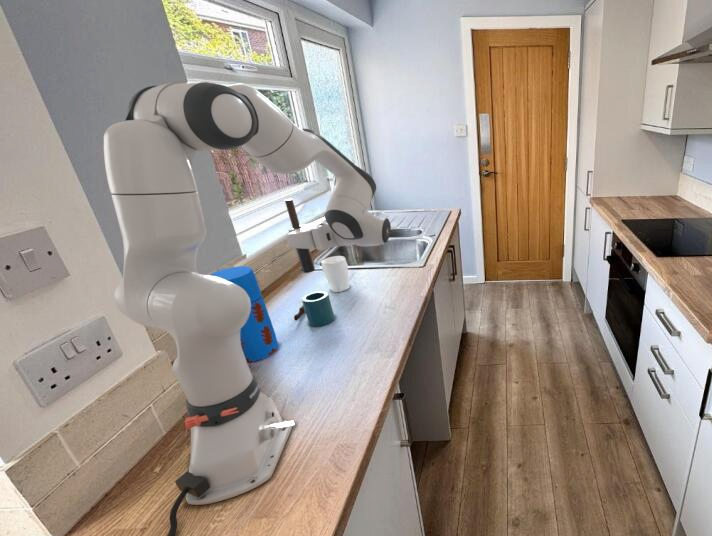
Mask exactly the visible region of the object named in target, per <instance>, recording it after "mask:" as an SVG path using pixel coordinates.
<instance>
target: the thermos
mask: <svg viewBox="0 0 712 536" xmlns="http://www.w3.org/2000/svg"><path fill="white" fill-rule="evenodd" d="M210 275H211V276H217V277H220V278H223V279H225V280H227V281H230V282H232V283H234V284H236V285H238V286H240V287H241V288H243V289H244V290H245V291H246V293H247V294H248V296H249V298H250V302H251V311H250V315H249V318H248V320H247V322H246V323H245V325H244V326H243V327H242V328H241V331H240V340H241V347H242V350H243V353H244V356H245V358H246V361H247V363H248V362H249V363H250V362H257V361H260V360H263V359H266V358H268V357H269V356H271V355H273V354H274V353H276V351H278V349H279V343H278V338H277V335H276V332H275V329H274V326H273V323H272V320H271V318H270V314H269V312H268V308H267V306H266V305H267V304H266V303H265V300H264V297H263V294H262V291H261V289H260V285H259V282H258V279H257V277H256V274H255V272H254V269H253V268H252V267H250V266H245V265H243V266H242V265H241V266H240V265H239V266H233V267H232V266H231V267H228V268H224V269H220V270H217V271H215V272H213V273H210Z"/></svg>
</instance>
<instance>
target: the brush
mask: <svg viewBox="0 0 712 536" xmlns="http://www.w3.org/2000/svg"><path fill="white" fill-rule="evenodd" d="M284 203H285V207H286V210H287V213H288V216H289V221H290V223H291V224H290V225H291V228H297V229H299V228H300V225H301V224H300V221H299V217H298V214H297V211H296V208H295V203H294V200H293V199H292V198H288V199H284ZM295 250H296V254H297V257H298V260H299V263H300V266H301V267H300V268H301V269H302V273H304V274H309V273H313V272H314V271H315V270H316V268H315V264H314V261H313V257H312V254H311V249H301V248H295Z"/></svg>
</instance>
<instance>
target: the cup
mask: <svg viewBox="0 0 712 536" xmlns="http://www.w3.org/2000/svg"><path fill="white" fill-rule="evenodd" d="M320 264H321V269H322V272H323V274H324V275H323V276H324V277H325V279H326V282H327V283H328V286H329V288H330V290H331V292H332V293H333V292H334V293H339V292H344V291H347V290H348V289H349V288H350V277H349V276H350V275H349V264H348V262H347V258H346V257H345V256H343V255H332V256H328V257H325V258H323V259H322V260H321V261H320Z"/></svg>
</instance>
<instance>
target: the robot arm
mask: <svg viewBox="0 0 712 536" xmlns="http://www.w3.org/2000/svg"><path fill="white" fill-rule="evenodd" d="M127 106H128V107H127V115H126V117H125V118H124V119H125V120H123V121H119V122H116V123H113V124H112V125H110V126H108V127H107V129H106V130H105V131H104V135H103V160H104V168H105V174H106V180H107V184H108V189H109V192H110V196H111V200H112V203H113V208H114V211H115V214H116V218H117V222H118V225H119V230H120V234H121V238H122V245H123V267H122V268H123V269H122V270H123V271H122V279H121V281H119V283H118V285H117V286H116V289H115V291H114V303H115V305H116V308H117V309H118V311H120V313H122V315H124V316H125V317H127V318H129V319H130V320H132V321H133V322H135V323H137V324H139V325H141V326H144V327H148V328H152V329H156V330H161V331H165V332H167V333H168V334H169V335H170V336H171V337H172V338H173V340H174V342H175V347H176V354H177V357H176V358H175V359H174V361H173V363H172V373H173V374H174V376H175V379H176V380H177V382H178V385H179V386H180V389H181V390H182V393H183V394H184V397H185V405H186V412H187V415H188V416H187V417H186V418H185V420H184V425H185V427H186V429H188V430H189V429H190V459H189V468H188V471H186V472H184V473H183V474H181V475H180V476H179V477H178V478H177V479H176V480H174V483H175V485H176V486H177V488H178V490H179V491H181V492H180V493H179V495H178V496H177V498H176V499H175V501H174V503H173V505H172V507H171V510H170V513H169V524H170V525H169V526H170V528H169V531H168V534H167V536H175V535H176V532H177V529H178V517H177V514H178V510H179V507H180V506H181V503H182V502H183V500H184V498H185V500H186V503H187V504H188V505H193V506H202V505H209V504H214V503H219V502H221V501H224V500H228V499H231V498H235V497H237V496H240V495H242V494H245V493H248V492H249V491H252V490H254V489H256V488H258V487H259V486H261V485H263V484H264V483H266V482H267V481H268V480H270V479H271V478H272V476H273V474H274V472H275V469H276V467H277V465H278V462H279V461H280V459H281V458H280V457H281V455H282V452H283V451H284V448H285V446H286V443H287V441H288V438H289V436H290V434H291V432H292V429H293V426H295V422H294V420H285V419H283V418H282V416H281V414H280V411H279V410H278V408H277V406H276V403H275V402H274V400H273V398H272V397H270V396H268V395H266V394H264V393H263V392H261V387H260V384H259V381H258V379H257V378H256V376H255V374H254V373H253V372H252V371H251V369H250V367H249V364H248V362H247V361H246V358H245V356H244V353H243V350H242V347H241V340H240V331H241V328H242V327H243V326H244V325H245V323H246V322H247V320H248V318H249V315H250V311H251V302H250V298H249V296H248V294H247V293H246V291H245V290H244V289H243V288H241V287H240V286H238V285H236V284H234V283H232V282H230V281H227V280H225V279H223V278H220V277H217V276H211V274H202V273H199V272H198V270H197V256H198V250H199V247H200V245H201V244H202V243H204V242H205V240H206V237H207V228H206V223H205V220H204V219H205V218H204V214H203V208H202V205H201V200H200V195H199V191H198V187H197V182H196V179H195V176H194V172H193V162H194V161H193V160H194V157H195V155H196V153H197V152H213V151H220V150H221V151H229V150H233V149H237V148H240V147H241V148H242V149H243V150H244V151H245V152H246V153H248V155H249V156H251V157H252V158H253V159H254V160H255V161H257V162H258V163H259V164H260V165H261V166H262V167H264V168H265V169H267V170H269V171H270V172H273V173H276V174H281V175H288V174H289V175H290V174H294V173H297V172H300V171H303V170H304V169H306V168H309V166H310V165H311V164H313V163H314V162H315V161H316V162H317V163H319V164H320V165H322V167H323V168H325V169H326V170H327V171H329V172H330V173H331V174H332V175H333V176H334V179H335V183H334V184H335V185H334V188H333V190H332V194H331V195H330V198H329V200H328V204H327V206H326V207H325V208H326V209H325V212H324V217H321V218H319V219H316V220H315V221H313V222H309V223H306V224H300V228H299V229H297V228H293V227H291V228H290V229H288V233H286V234H285V238H286V242H287V245H288V246H289V247H290V248H292V249H296V248H301V249H309V250H312V249H316V250H317V251H325V250H326V251H327V250H329V249H333V248H337V247H350V246H354V245H355V246H358V247H376V246H383V245H385V244H387V243H388V242H389V240H390V235H391V231H392V229H391V228H392V225H391V221H390V219H389V218H388V217H386V216H381V215H374V214H372V213H370V212H369V209H370V208H369V207H370V205H371V201H372V200H373V198H374V196H375V194H376V191H377V183H376V181H375V180H374V178H373V177H372V175H370V173H368V172H367V171H366V170H365V169H362V168H361V167H359V166H357V165H356V164H355V163H354V162H353V161H351V160H350V159H349V158H348V157H347V156H346V155H344V154H343V152H341V151H340V150H339V149H337V148H336V147H335V146H334V145H333V144H332V143H331V142H330V141H329V140H327V139H326V137H323V136H322V135H320V133H318V132H316V131H314V130H312V129H309V128H300V127H299V126H297V125H296V124H295V123H294V122H293V121H292V120H291V119H290V118H289V117H288V116H287V115H286V114H285V113H284V112H283V111H282V110H281V109H280V108H279V107H278V106H277V105H276V104H274V102H273V101H271V100H270V99H269V98H268V97H267V96H265V95H264V94H263V93H261V92H260V91H259V90H257V89H256V88H254V87H253V86H251V85H248V84H245V83H235V84H230V85H227V86H226V85H224V84H220V83H216V82H209V81H201V82H184V81H177V82H176V81H175V82H174V81H173V82H169V83H163V84H160V85H149V86H147V87H144V88H142V89H140V90H139V91H137V92H136V93H135V94H133V96H132V97H131V99H130V101H129V103H128V105H127Z"/></svg>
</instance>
